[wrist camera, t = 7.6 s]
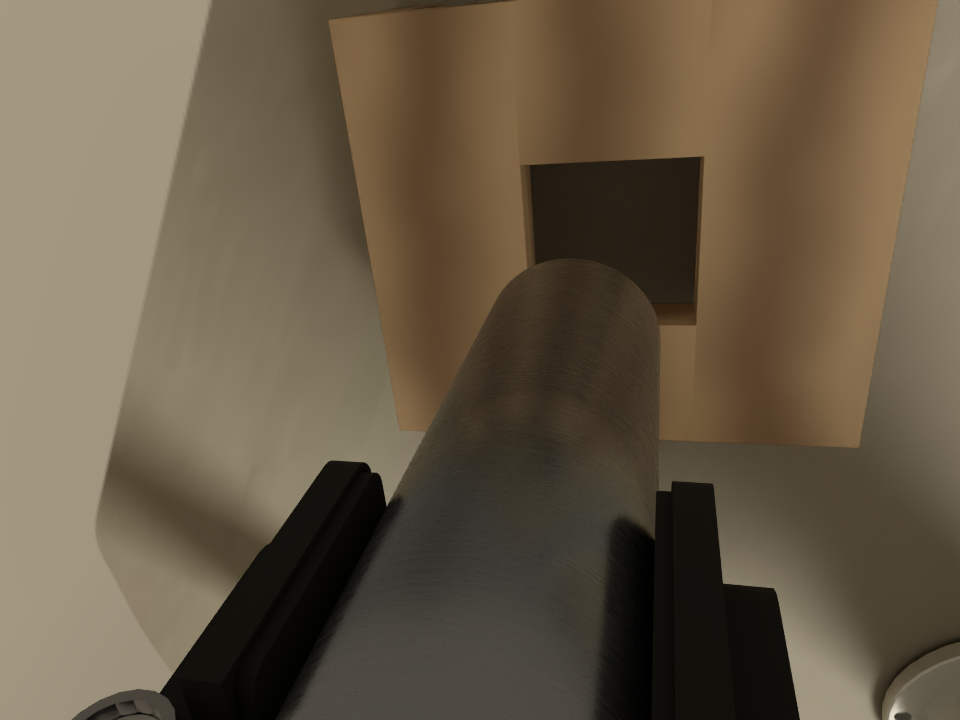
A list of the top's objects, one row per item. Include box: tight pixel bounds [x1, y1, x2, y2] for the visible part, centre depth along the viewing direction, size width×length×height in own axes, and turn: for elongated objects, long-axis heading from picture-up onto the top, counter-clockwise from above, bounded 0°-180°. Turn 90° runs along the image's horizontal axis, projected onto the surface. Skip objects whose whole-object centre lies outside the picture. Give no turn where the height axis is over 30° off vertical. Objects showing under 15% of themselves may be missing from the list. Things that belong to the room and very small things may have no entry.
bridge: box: [328, 0, 938, 448], centre depth 28 cm, size 18×16×7 cm
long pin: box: [275, 258, 661, 720], centre depth 10 cm, size 4×4×16 cm
